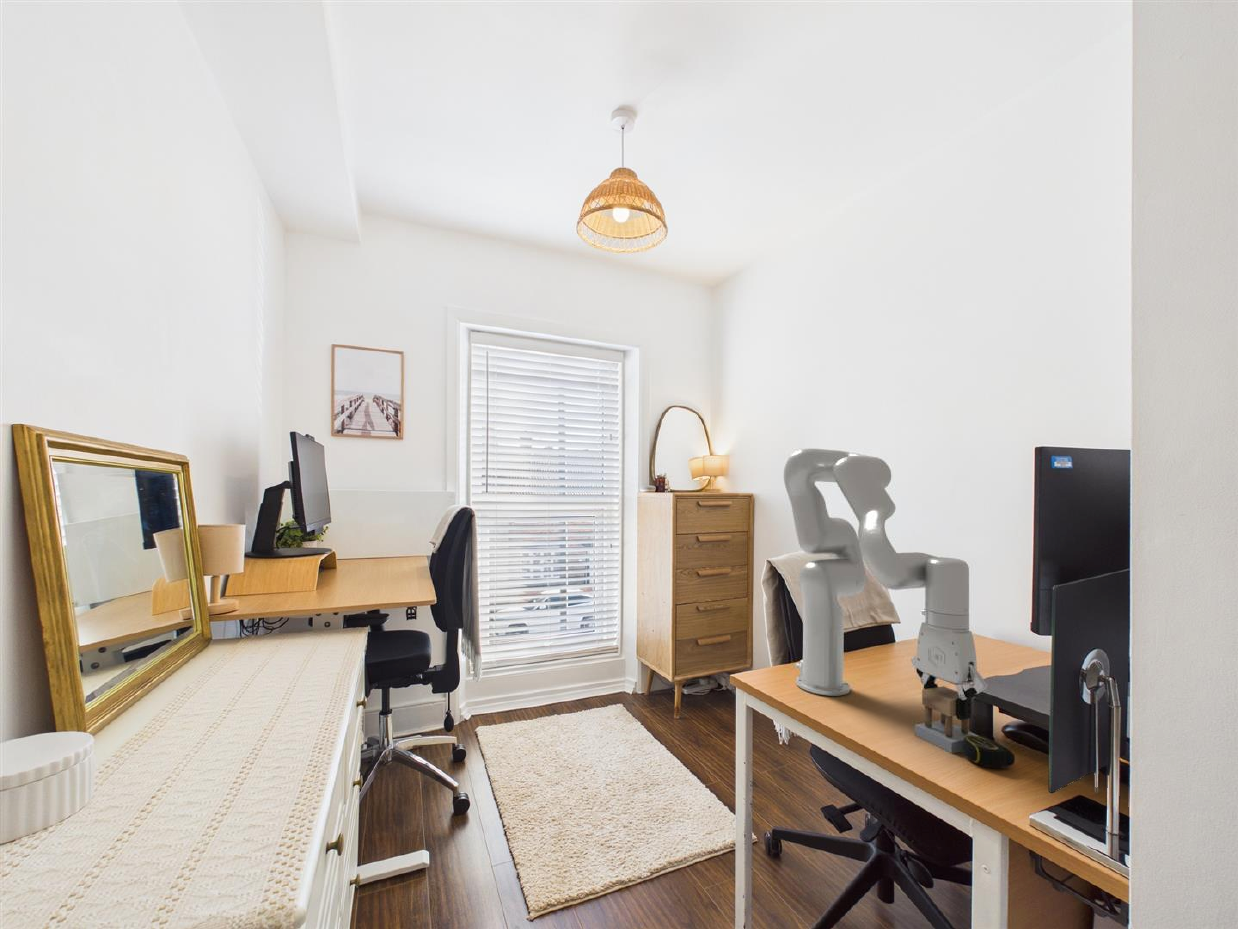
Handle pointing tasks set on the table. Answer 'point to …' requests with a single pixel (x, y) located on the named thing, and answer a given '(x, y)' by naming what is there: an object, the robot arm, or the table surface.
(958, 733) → the plinth
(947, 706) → the stool
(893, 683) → the table surface
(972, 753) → the tape measure
